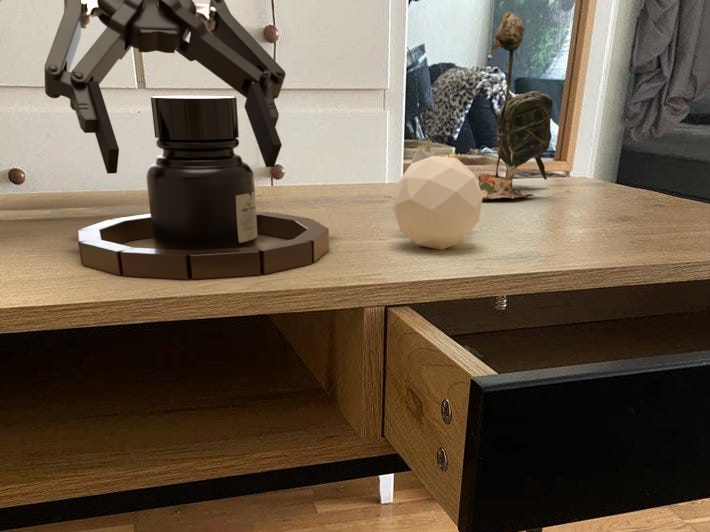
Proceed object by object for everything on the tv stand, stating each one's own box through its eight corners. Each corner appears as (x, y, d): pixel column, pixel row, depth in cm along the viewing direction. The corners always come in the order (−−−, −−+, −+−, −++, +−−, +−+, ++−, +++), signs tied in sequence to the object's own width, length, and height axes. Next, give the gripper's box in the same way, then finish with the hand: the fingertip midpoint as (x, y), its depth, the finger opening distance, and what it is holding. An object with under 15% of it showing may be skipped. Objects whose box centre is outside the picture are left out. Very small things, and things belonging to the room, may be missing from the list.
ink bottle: (273, 257, 64) (266, 98, 59) (169, 266, 61) (151, 99, 55) (238, 237, 72) (229, 95, 66) (144, 244, 69) (126, 95, 63)
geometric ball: (411, 278, 70) (360, 203, 68) (460, 235, 73) (413, 162, 71) (464, 248, 63) (409, 164, 61) (515, 203, 67) (464, 122, 65)
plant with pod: (558, 202, 94) (582, 11, 84) (467, 202, 93) (481, 10, 83) (538, 193, 101) (558, 16, 91) (454, 193, 100) (465, 15, 90)
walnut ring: (83, 287, 55) (79, 262, 54) (79, 235, 72) (76, 215, 71) (356, 268, 61) (356, 245, 60) (292, 224, 78) (292, 206, 77)
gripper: (-30, -99, 59) (35, 127, 54) (271, -69, 69) (346, 123, 65) (-21, -12, 65) (37, 196, 61) (253, 4, 76) (320, 182, 71)
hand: (197, 159), depth 63 cm, fingers open, 13 cm apart
